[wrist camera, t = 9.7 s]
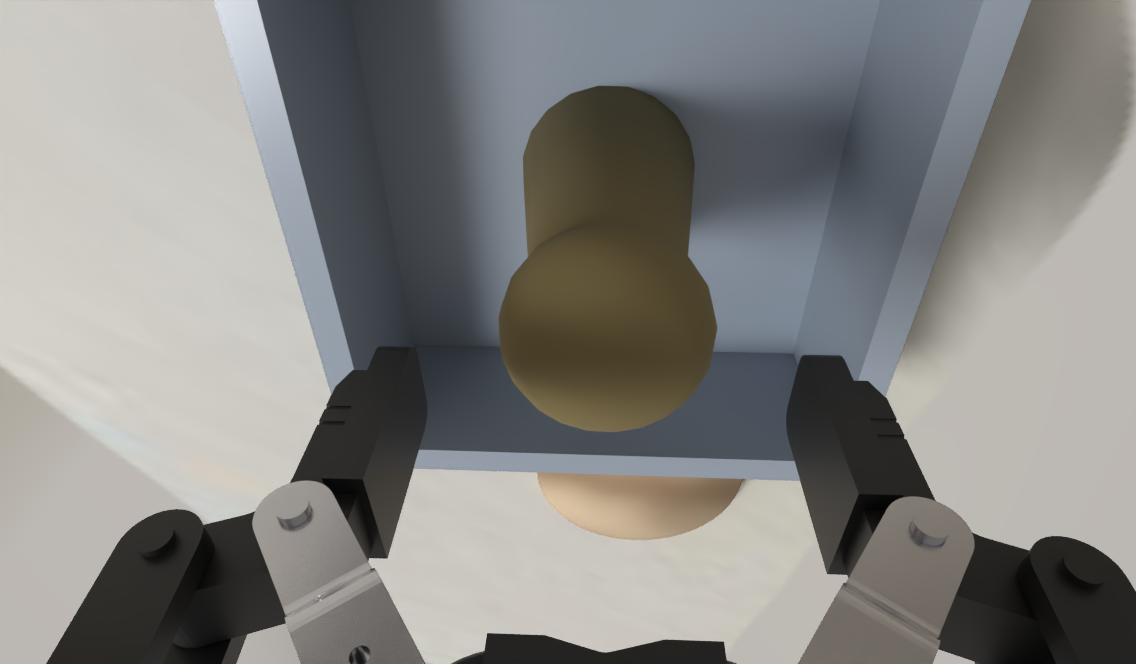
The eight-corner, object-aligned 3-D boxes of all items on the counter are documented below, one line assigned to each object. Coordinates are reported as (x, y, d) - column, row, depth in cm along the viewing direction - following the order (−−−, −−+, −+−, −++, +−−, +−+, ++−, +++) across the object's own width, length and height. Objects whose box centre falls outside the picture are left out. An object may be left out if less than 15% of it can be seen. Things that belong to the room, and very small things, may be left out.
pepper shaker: (730, 140, 23) (805, 338, 14) (635, 272, 26) (649, 500, 17) (573, 49, 21) (546, 207, 12) (494, 202, 25) (429, 411, 16)
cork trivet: (535, 384, 31) (533, 399, 30) (753, 390, 31) (757, 405, 30) (542, 521, 37) (540, 536, 36) (725, 527, 37) (727, 543, 36)
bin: (300, -143, 19) (175, -130, 14) (939, -149, 19) (1082, -139, 13) (400, 348, 30) (352, 466, 25) (807, 357, 29) (853, 482, 24)
